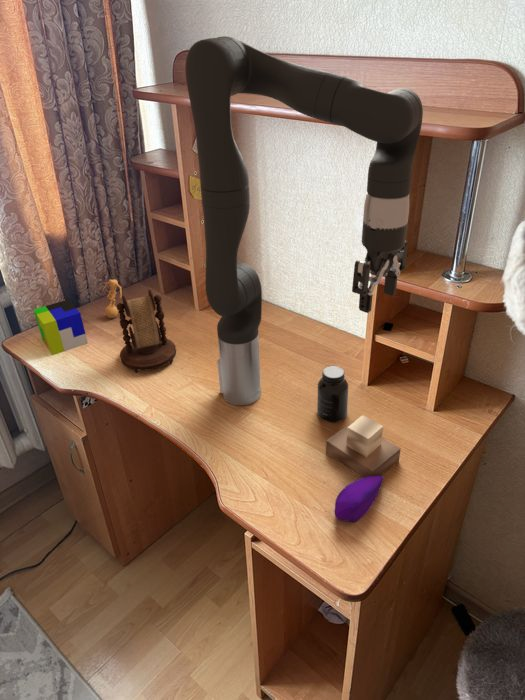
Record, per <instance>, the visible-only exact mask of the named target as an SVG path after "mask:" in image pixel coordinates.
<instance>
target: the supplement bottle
mask: <svg viewBox="0 0 525 700" xmlns="http://www.w3.org/2000/svg"><path fill="white" fill-rule="evenodd" d="M346 379H347V378H346V377H345V371H344V368H342V367H340V366H338V365H328V366H326V367H324V368H323V369H322V373H321V377H320V379H319V381H318V383H317V407H316V408H317V415H318V416H319V418H320V419H321V420H323V421H325V422H327V423H339V422H341V421H343V420H345V418H346V417H347V414H348V404H349V403H348V402H349V382H348V381H347V380H346Z"/></svg>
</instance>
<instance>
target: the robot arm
mask: <svg viewBox="0 0 525 700" xmlns="http://www.w3.org/2000/svg"><path fill="white" fill-rule="evenodd" d="M184 68H185V69H184V70H185V80H186V81H185V82H186V87H187V88H186V89H187V93H188V98H189V102H190V103H189V104H190V107H191V109H190V110H191V114H192V118H193V124H194V131H195V139H196V140H195V141H196V148H197V149H196V150H197V158H198V167H199V169H198V170H199V183H200V186H199V187H200V195H201V197H200V198H201V205H202V212H203V222H204V223H203V225H204V226H203V227H204V238H205V240H204V242H205V293H206V298H207V302H208V304H209V306H210V308H211V309H212V311H214V312H215V314H217V315H219V316H221V317H220V319H218V322H217V325H216V330H217V331H216V332H217V341H218V351H219V358H218V359H217V370H218V381H219V382H218V383H219V391H220V393H221V394H222V395H223V396H222V397H223V399H224V400H225V402H227V403H229V404H231V405H234V406H247V405H250V404H253V403H255V402H257V401H258V400H259V399H260V397H261V395H262V388H261V386H262V385H261V363H260V362H261V361H260V359H261V358H260V341H259V340H260V338H259V327H260V324H261V321H262V313H263V312H262V308H263V307H262V303H263V302H262V301H263V299H262V298H263V296H262V295H263V293H262V284H261V281H260V280H261V279H260V277H259V274H258V273H257V272H256V269H254V267H252V266H251V265H250V264H247V263H245V262H238V253H239V247H240V243H241V241H242V238H243V234H244V233H245V228H246V226H247V225H246V224H247V222H248V218H249V214H250V207H251V206H250V201H251V198H250V179H249V173H248V169H247V166H246V162H245V161H244V158H243V155H242V153H241V152H240V150H239V148H238V145H237V143H236V141H235V137H234V133H233V126H232V111H231V110H232V109H231V106H232V105H231V100H232V99H231V98H232V96H234V95H237V94H248V95H249V94H250V95H257V96H258V95H260V96H264V97H268V98H271V99H274V100H275V101H276V100H277V101H278V102H281V103H282V104H284V105H285V106H287V107H289V108H291V109H292V110H295V111H296V112H298V113H300V114H302V115H304V116H307V117H310V118H312V119H316V120H319V121H323V122H325V123H326V122H327V123H329V124H333V125H337V126H342V127H344V128H346V129H347V130H349V131H351V132H353V133H354V134H355V133H356V134H357V135H359V136H361V137H364V138H365V139H367V140H370V141H373V142H376V148H375V152H374V155H373V156H372V158H371V160H370V162H369V165H368V170H367V172H368V173H367V185H366V193H365V199H364V203H363V204H364V206H363V214H362V215H363V217H362V218H363V219H362V228H361V229H362V231H361V232H362V233H361V244H362V246H363V247H364V248H365V249H366V251H367V252H366V256H365V258H364V260H362V261H360V260H358V259H357V260H356V261H355V262H354V266H353V267H354V269H353V278H352V285H351V286H352V288H351V292H352V293H354V294H357V295H359V298H358V299H359V300H358V309H359V311H361V312H363V313H365V314H366V313H367V314H369V313H370V312H372V306H373V296H374V295H373V292H374V290H375V288H376V286H377V285H379V284H381V283H380V282H381V280H382V277H383V276H384V275H385V276H384V284H383V285H384V286H383V293H384V294H385V295H388V296H394V295H396V292H397V285H398V284H397V283H398V278H399V277H400V275H401V271H405V269H406V265H407V257H408V256H407V254H408V243H409V241H407V240H406V239H407V231H408V223H409V222H408V221H409V216H410V192H411V185H412V175H413V162H414V159H415V154H416V151H417V146H418V143H419V138H420V135H421V130H422V124H423V117H424V115H423V114H424V112H423V104H422V101H421V98H420V97H419V95H418V94H417V93H416V92H415V91H413V90H412V89H411V88H407V87H406V88H405V87H399V88H395V89H393V90H390V91H389V92H383V91H380V90H375V89H372V88H369V87H366V86H364V85H363V84H362V82H361V81H359V80H357V79H354V78H352V77H350V76H345V75H342V74H338V73H337V74H336V73H333V72H330V71H325V70H320V69H317V68H313V67H309V66H305V65H302V64H297V63H293V62H290V61H287V60H285V59H280V58H278V57H275V56H273V55H271V54H268V53H266V52H263V51H262V50H259V49H257V48H255V47H253V46H251V45H249V44H247V43H245V42H243V41H240V40H239V39H237V38H234V37H231V36H218V37H211V38H205V39H204V38H203V39H199V40H198V41H196V42H194V43H193V44H192V45H191V47H190V48H189V50H188V52H187V54H186V58H185V66H184ZM398 259H399V260H400V262H399V261H398ZM370 275H372V276H370ZM373 276H374V277H373ZM369 282H370V284H369Z"/></svg>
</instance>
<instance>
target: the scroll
mask: <svg viewBox="0 0 525 700" xmlns="http://www.w3.org/2000/svg"><path fill="white" fill-rule="evenodd" d="M147 292H148V294H147V296H142V297H138V298H132V299H128V300H127V299H126V296H125V294H122V303H121V302H119V303H117V304H116V307H117V310H118V314H119V325H120V328H121V329H122V335H123V337H122V339H123V341H124V344H125V345H124V346H123V347H122V349H121V350H120V353H119V357H120V362H121V364H122V365H123V366H124V367H125V368H128V369H130V370H133V372H134V373H135V374H137V373H138V371H151V370H156V369H159V368H161V367H163V366H166V365H168V364H172V363H173V359H174V358H175V357H176V354H177V347H176V345H175V343H174V341H172V340H171V339H169V338H168V337H167V336H166V335H167V333H166V331H167V327H166V326H165V324H166V323H165V322H164V319H165V314H164V311H163V306H162V296H161V295H159V294H155V295H154V294H153V293H154V292H153V291H152V290H151V289H150V288H149V289H148V291H147ZM155 311H156V312H155ZM125 314H126V315H125ZM126 317H128V318H130V319H127V318H126ZM157 320H158V321H157ZM129 325H130V326H129ZM131 325H132V326H131ZM128 326H129V327H128Z"/></svg>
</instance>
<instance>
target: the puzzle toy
mask: <svg viewBox="0 0 525 700" xmlns="http://www.w3.org/2000/svg"><path fill="white" fill-rule="evenodd" d="M33 312H34V316H35V319H36V323H37V326H38V330H39V332H40V336H41V338H42V341H43V344H45V346H46V347H47V349H48V351H49V352H50V353H51V355H52V356H55V355H57V354H61V353H63V352H67V351H69V350H72V349H75V348H79V347H81V346H82V347H83V346H85V345H88V343H89V342H88V338H87V333H86V331H85V326H84V322H83V318H82V314H81V312H80V310H79V309H78V308H77V307H76V306H75V305H74V303H72V301H71V300H70V299H69V298H68V299H65V300H62V301H61V300H60V301H58V302H55V303H52V304H48V305H45V306H41V307H38V308H34V309H33Z"/></svg>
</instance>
